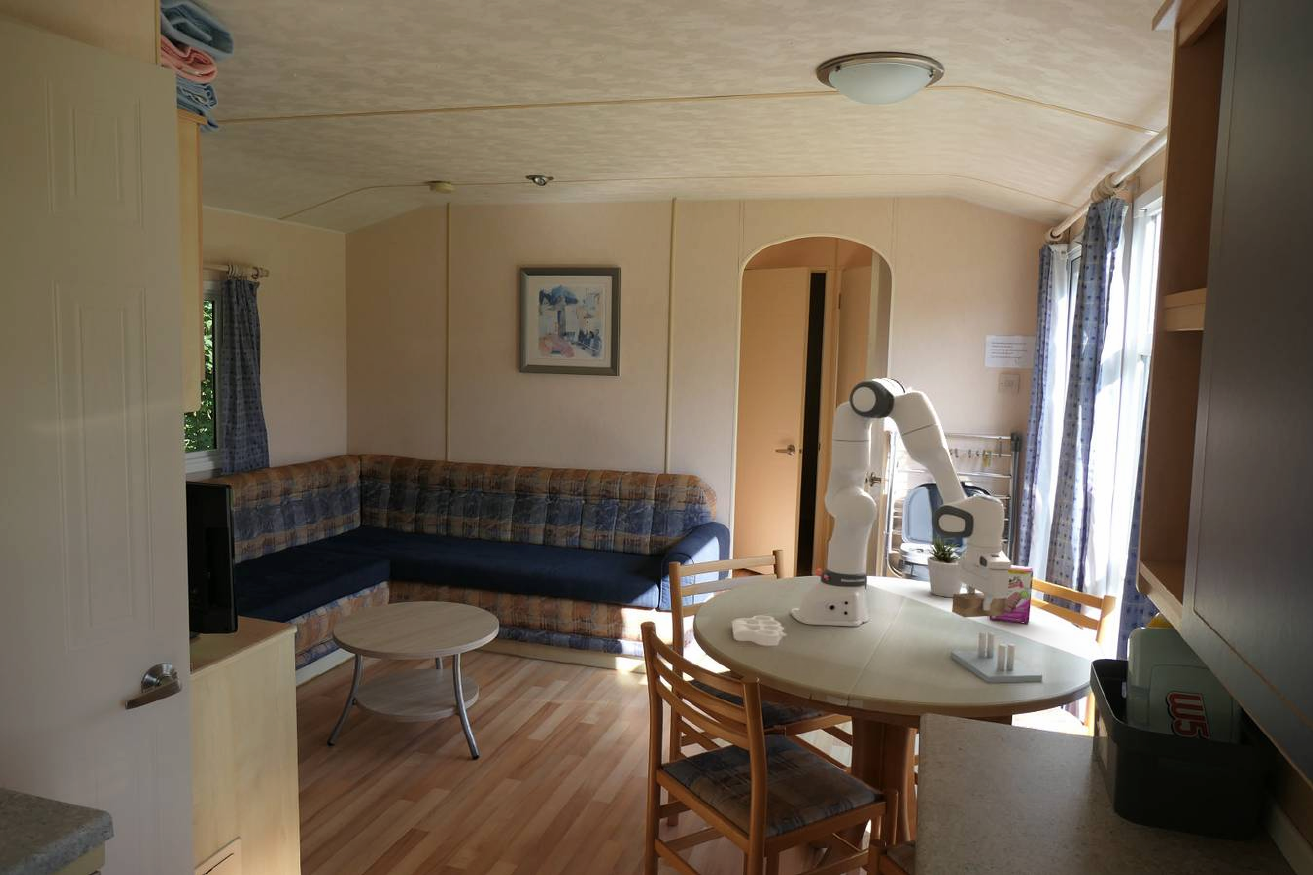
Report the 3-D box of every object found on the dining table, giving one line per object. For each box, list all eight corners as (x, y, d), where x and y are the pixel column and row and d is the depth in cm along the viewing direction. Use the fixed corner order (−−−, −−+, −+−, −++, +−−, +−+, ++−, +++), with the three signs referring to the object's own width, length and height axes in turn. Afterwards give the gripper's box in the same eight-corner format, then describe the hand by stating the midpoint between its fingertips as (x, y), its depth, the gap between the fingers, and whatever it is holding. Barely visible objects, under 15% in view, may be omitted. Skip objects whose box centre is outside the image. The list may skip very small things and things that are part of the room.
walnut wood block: (964, 617, 229) (966, 598, 228) (951, 612, 234) (953, 593, 233) (1004, 615, 233) (1005, 597, 233) (991, 610, 238) (992, 592, 238)
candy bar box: (989, 620, 260) (992, 566, 258) (988, 615, 265) (992, 562, 263) (1029, 624, 256) (1033, 570, 255) (1028, 620, 261) (1032, 566, 260)
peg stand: (988, 682, 207) (990, 651, 206) (950, 657, 224) (952, 628, 224) (1042, 681, 209) (1044, 650, 208) (1000, 656, 226) (1002, 628, 226)
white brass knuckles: (730, 625, 247) (782, 627, 246) (734, 646, 229) (789, 648, 228) (731, 614, 247) (783, 616, 246) (734, 633, 229) (790, 636, 228)
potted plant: (962, 590, 294) (966, 532, 293) (967, 600, 281) (971, 539, 279) (923, 587, 297) (927, 529, 296) (926, 597, 284) (930, 536, 282)
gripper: (953, 546, 242) (948, 595, 243) (992, 563, 222) (987, 616, 223) (974, 547, 243) (969, 595, 244) (1015, 564, 223) (1010, 617, 224)
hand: (978, 606), depth 233 cm, fingers closed on walnut wood block, 5 cm apart
